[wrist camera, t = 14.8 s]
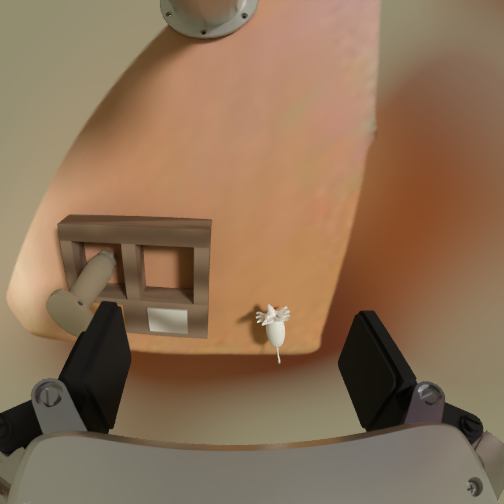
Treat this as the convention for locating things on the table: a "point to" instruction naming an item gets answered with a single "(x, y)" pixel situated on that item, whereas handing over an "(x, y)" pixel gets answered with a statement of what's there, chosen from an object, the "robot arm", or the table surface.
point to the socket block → (135, 290)
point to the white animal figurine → (274, 325)
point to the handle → (81, 294)
